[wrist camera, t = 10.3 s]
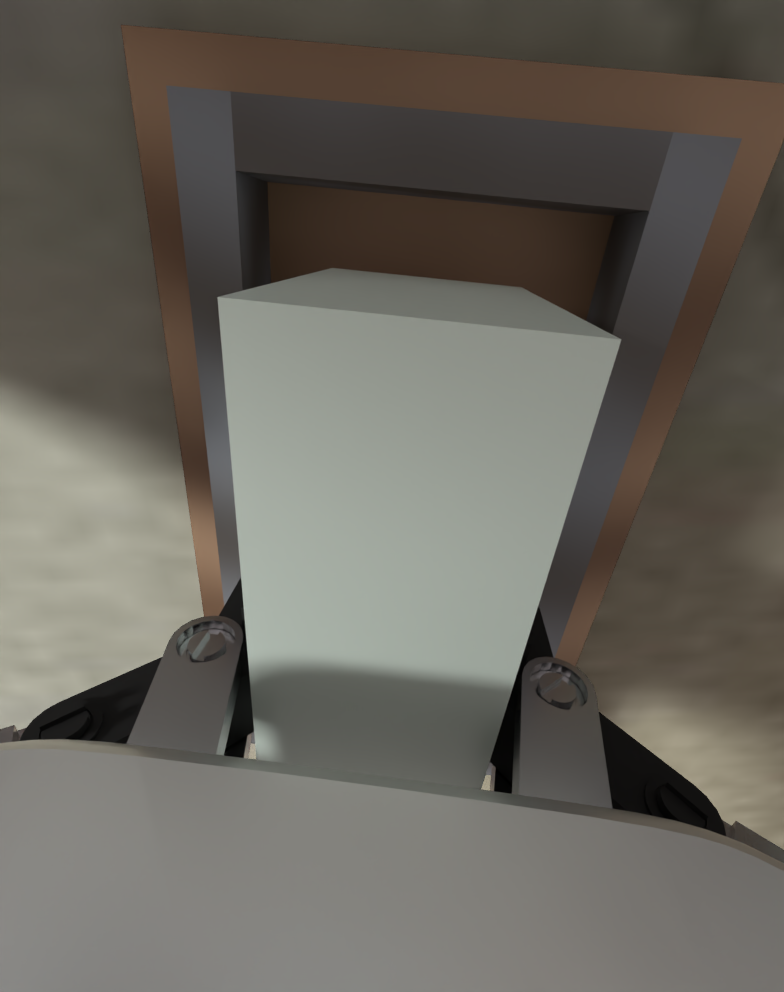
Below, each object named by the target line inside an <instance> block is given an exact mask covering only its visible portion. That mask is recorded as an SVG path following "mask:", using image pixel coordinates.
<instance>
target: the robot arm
mask: <svg viewBox="0 0 784 992" xmlns="http://www.w3.org/2000/svg"><path fill="white" fill-rule="evenodd" d="M252 732H254V724H253V712H252V700H251V688H250V676H249V664H248V653H247V641H246V629H245V617H244V605H243V594H242V582H241V578H240V580H239V581H238V583H237V585H236V586H235V588H234V590H233V592H232V593H231V595H230V597H229V599H228V600H227V602H226V604H225V606H224V607H223V609H222V611H221V613H220V614H219V616H215V615H214V616H205V617H200V618H197V619H194V620H191V621H190V622H188V623H186V624H184V625H182V626H181V627H180V628H179V629H178V630H177V631H176V632H174V634H173V635H172V637H171V638H170V640H169V642H168V644H167V647H166V649H165V652H164V654H163V657H161V658H159V659H157V660H154V661H152V662H150V663H148V664H145V665H143V666H141V667H138V668H136V669H134V670H132V671H129V672H127V673H125V674H122V675H120V676H118V677H116V678H113V679H111V680H109V681H107V682H104V683H102V684H100V685H97V686H95V687H93V688H91V689H88V690H86V691H84V692H81V693H79V694H77V695H75V696H72V697H70V698H68V699H66V700H63V701H61V702H59V703H57V704H55V705H53V706H52V707H50V708H48V709H46V710H45V711H44V712H42V713H41V714H40V715H39V716H37V717H36V718H35V719H34V720H33V721H32V722H31V723H30V724H29V725H28V727H27V728H25V729H21V730H18V731H17V729H16V727H15V725H13V726H10V727H7V728H3V729H0V992H784V850H783V849H781V848H780V847H778V846H777V845H775V844H773V843H772V842H770V841H768V840H767V839H765V838H763V837H762V836H760V835H758V834H757V833H755V832H753V831H752V830H750V829H748V828H747V827H745V826H744V825H742V824H740V823H739V822H737V821H735V822H734V824H733V825H732V826H731V825H729V824H728V823H726V822H724V821H723V820H722V819H721V817H720V815H719V813H718V811H717V809H716V808H715V807H714V806H713V804H712V803H711V802H710V800H709V799H708V798H707V796H705V795H704V794H703V793H702V792H701V791H700V790H699V789H698V788H697V787H696V786H694V785H693V784H692V783H691V782H689V781H688V780H687V779H685V778H684V777H683V776H682V775H680V774H679V773H678V772H676V771H675V770H674V769H672V768H671V767H670V766H669V765H667V764H666V763H665V762H663V761H662V760H661V759H659V758H658V757H657V756H656V755H654V754H653V753H652V752H650V751H649V750H648V749H646V748H645V747H644V746H643V745H641V744H640V743H639V742H637V741H636V740H635V739H633V738H632V737H631V736H630V735H628V734H627V733H626V732H624V731H623V730H622V729H620V728H619V727H618V726H617V725H615V724H614V723H613V722H611V721H610V720H609V719H607V718H606V717H605V716H604V715H602V714H601V713H600V712H599V711H598V704H597V697H596V693H595V690H594V687H593V685H592V683H591V682H590V680H589V679H588V677H587V676H586V675H585V674H584V673H583V672H582V671H580V670H579V669H578V668H577V667H575V666H573V665H572V664H570V663H569V662H566V661H564V660H561V659H558V658H554V657H553V653H552V650H551V646H550V643H549V639H548V636H547V632H546V629H545V625H544V622H543V618H542V615H541V611H540V608H539V605H538V608H537V611H536V615H535V618H534V621H533V624H532V628H531V631H530V634H529V637H528V640H527V644H526V647H525V650H524V653H523V656H522V660H521V663H520V666H519V669H518V672H517V676H516V679H515V682H514V685H513V688H512V692H511V695H510V698H509V701H508V704H507V708H506V711H505V714H504V717H503V720H502V724H501V727H500V730H499V733H498V736H497V740H496V743H495V746H494V749H493V752H492V756H491V759H490V762H491V763H492V764H493V766H492V771H491V783H490V791H488V790H481V789H473V788H466V787H459V786H452V785H444V784H437V783H430V782H422V781H415V780H407V779H400V778H392V777H385V776H377V775H370V774H362V773H355V772H347V771H340V770H332V769H324V768H317V767H309V766H302V765H294V764H286V763H278V762H271V761H263V760H255V759H248V756H249V750H250V745H251V739H252Z"/></svg>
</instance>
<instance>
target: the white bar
mask: <svg viewBox="0 0 784 992" xmlns="http://www.w3.org/2000/svg"><path fill="white" fill-rule="evenodd" d="M217 298H218V310H219V322H220V333H221V345H222V357H223V369H224V381H225V393H226V404H227V416H228V428H229V440H230V452H231V463H232V475H233V487H234V499H235V511H236V523H237V534H238V546H239V558H240V570H241V582H242V594H243V605H244V617H245V629H246V641H247V653H248V664H249V676H250V688H251V700H252V712H253V724H254V735H255V747H256V759H257V760H263V761H271V762H278V763H286V764H294V765H302V766H309V767H317V768H324V769H332V770H340V771H347V772H355V773H362V774H370V775H377V776H385V777H392V778H400V779H407V780H415V781H422V782H430V783H437V784H444V785H452V786H459V787H466V788H473V789H481V788H482V784H483V781H484V778H485V775H486V772H487V768H488V765H489V762H490V759H491V756H492V752H493V749H494V746H495V743H496V740H497V736H498V733H499V730H500V727H501V724H502V720H503V717H504V714H505V711H506V708H507V704H508V701H509V698H510V695H511V692H512V688H513V685H514V682H515V679H516V676H517V672H518V669H519V666H520V663H521V660H522V656H523V653H524V650H525V647H526V644H527V640H528V637H529V634H530V631H531V628H532V624H533V621H534V618H535V615H536V611H537V608H538V605H539V602H540V599H541V595H542V592H543V589H544V586H545V583H546V579H547V576H548V573H549V570H550V567H551V563H552V560H553V557H554V554H555V551H556V547H557V544H558V541H559V538H560V535H561V531H562V528H563V525H564V522H565V519H566V515H567V512H568V509H569V506H570V503H571V499H572V496H573V493H574V490H575V487H576V483H577V480H578V477H579V474H580V471H581V467H582V464H583V461H584V458H585V455H586V451H587V448H588V445H589V442H590V439H591V435H592V432H593V429H594V426H595V423H596V419H597V416H598V413H599V410H600V407H601V403H602V400H603V397H604V394H605V391H606V387H607V384H608V381H609V378H610V375H611V371H612V368H613V365H614V362H615V359H616V355H617V352H618V349H619V346H620V342H621V339H620V338H618V337H616V336H614V335H612V334H610V333H608V332H606V331H604V330H602V329H600V328H598V327H597V326H595V325H593V324H591V323H589V322H587V321H585V320H583V319H581V318H579V317H577V316H575V315H574V314H572V313H570V312H568V311H566V310H564V309H562V308H560V307H558V306H556V305H554V304H552V303H551V302H549V301H547V300H545V299H543V298H541V297H539V296H537V295H535V294H533V293H531V292H529V291H528V290H526V289H524V288H522V287H514V286H504V285H494V284H485V283H475V282H465V281H455V280H446V279H436V278H426V277H416V276H407V275H397V274H387V273H377V272H368V271H358V270H348V269H338V268H330V269H326V270H322V271H318V272H314V273H310V274H306V275H302V276H298V277H294V278H290V279H287V280H283V281H279V282H275V283H271V284H267V285H263V286H259V287H255V288H251V289H247V290H243V291H239V292H235V293H231V294H227V295H223V296H219V297H217Z"/></svg>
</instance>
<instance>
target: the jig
mask: <svg viewBox="0 0 784 992" xmlns="http://www.w3.org/2000/svg"><path fill="white" fill-rule="evenodd" d="M121 29H122V36H123V43H124V51H125V58H126V65H127V72H128V79H129V86H130V93H131V100H132V107H133V115H134V122H135V129H136V136H137V143H138V150H139V157H140V164H141V171H142V178H143V186H144V193H145V200H146V207H147V214H148V221H149V228H150V235H151V242H152V249H153V257H154V264H155V271H156V278H157V285H158V292H159V299H160V306H161V313H162V321H163V328H164V335H165V342H166V349H167V356H168V363H169V370H170V377H171V384H172V392H173V399H174V406H175V413H176V420H177V427H178V434H179V441H180V448H181V456H182V463H183V470H184V477H185V484H186V491H187V498H188V505H189V512H190V519H191V527H192V534H193V541H194V548H195V555H196V562H197V569H198V576H199V583H200V591H201V598H202V605H203V612H204V617H205V616H214V615H215V616H219V614H220V613H221V611H222V609H223V607H224V606H225V604H226V602H227V600H228V599H229V597H230V595H231V593H232V592H233V590H234V588H235V586H236V585H237V583H238V581H239V580H240V578H241V570H240V558H239V546H238V534H237V523H236V511H235V499H234V487H233V475H232V463H231V452H230V440H229V428H228V416H227V404H226V393H225V381H224V369H223V357H222V345H221V333H220V322H219V310H218V298H217V297H219V296H223V295H227V294H231V293H235V292H239V291H243V290H247V289H251V288H255V287H259V286H263V285H267V284H271V283H275V282H279V281H283V280H287V279H290V278H294V277H298V276H302V275H306V274H310V273H314V272H318V271H322V270H326V269H330V268H338V269H348V270H358V271H368V272H377V273H387V274H397V275H407V276H416V277H426V278H436V279H446V280H455V281H465V282H475V283H485V284H494V285H504V286H514V287H522V288H524V289H526V290H528V291H529V292H531V293H533V294H535V295H537V296H539V297H541V298H543V299H545V300H547V301H549V302H551V303H552V304H554V305H556V306H558V307H560V308H562V309H564V310H566V311H568V312H570V313H572V314H574V315H575V316H577V317H579V318H581V319H583V320H585V321H587V322H589V323H591V324H593V325H595V326H597V327H598V328H600V329H602V330H604V331H606V332H608V333H610V334H612V335H614V336H616V337H618V338H620V339H621V342H620V346H619V349H618V352H617V355H616V359H615V362H614V365H613V368H612V371H611V375H610V378H609V381H608V384H607V387H606V391H605V394H604V397H603V400H602V403H601V407H600V410H599V413H598V416H597V419H596V423H595V426H594V429H593V432H592V435H591V439H590V442H589V445H588V448H587V451H586V455H585V458H584V461H583V464H582V467H581V471H580V474H579V477H578V480H577V483H576V487H575V490H574V493H573V496H572V499H571V503H570V506H569V509H568V512H567V515H566V519H565V522H564V525H563V528H562V531H561V535H560V538H559V541H558V544H557V547H556V551H555V554H554V557H553V560H552V563H551V567H550V570H549V573H548V576H547V579H546V583H545V586H544V589H543V592H542V595H541V599H540V602H539V608H540V611H541V615H542V618H543V622H544V625H545V629H546V632H547V636H548V639H549V643H550V646H551V650H552V653H553V657H554V658H558V659H561V660H564V661H566V662H569V663H570V664H572V665H573V666H576V664H577V661H578V659H579V656H580V654H581V651H582V649H583V646H584V644H585V641H586V639H587V636H588V633H589V631H590V628H591V626H592V623H593V621H594V618H595V616H596V613H597V611H598V608H599V606H600V603H601V601H602V598H603V596H604V593H605V591H606V588H607V585H608V583H609V580H610V578H611V575H612V573H613V570H614V568H615V565H616V563H617V560H618V558H619V555H620V553H621V550H622V548H623V545H624V543H625V540H626V537H627V535H628V532H629V530H630V527H631V525H632V522H633V520H634V517H635V515H636V512H637V510H638V507H639V505H640V502H641V500H642V497H643V495H644V492H645V489H646V487H647V484H648V482H649V479H650V477H651V474H652V472H653V469H654V467H655V464H656V462H657V459H658V457H659V454H660V452H661V449H662V447H663V444H664V441H665V439H666V436H667V434H668V431H669V429H670V426H671V424H672V421H673V419H674V416H675V414H676V411H677V409H678V406H679V404H680V401H681V399H682V396H683V393H684V391H685V388H686V386H687V383H688V381H689V378H690V376H691V373H692V371H693V368H694V366H695V363H696V361H697V358H698V356H699V353H700V351H701V348H702V345H703V343H704V340H705V338H706V335H707V333H708V330H709V328H710V325H711V323H712V320H713V318H714V315H715V313H716V310H717V308H718V305H719V303H720V300H721V297H722V295H723V292H724V290H725V287H726V285H727V282H728V280H729V277H730V275H731V272H732V270H733V267H734V265H735V262H736V260H737V257H738V255H739V252H740V249H741V247H742V244H743V242H744V239H745V237H746V234H747V232H748V229H749V227H750V224H751V222H752V219H753V217H754V214H755V212H756V209H757V207H758V204H759V201H760V199H761V196H762V194H763V191H764V189H765V186H766V184H767V181H768V179H769V176H770V174H771V171H772V169H773V166H774V164H775V161H776V159H777V156H778V153H779V151H780V148H781V146H782V143H783V141H784V83H773V82H762V81H750V80H739V79H728V78H716V77H705V76H694V75H683V74H671V73H660V72H649V71H637V70H626V69H615V68H603V67H592V66H581V65H569V64H558V63H547V62H536V61H524V60H513V59H502V58H490V57H479V56H468V55H456V54H445V53H434V52H423V51H411V50H400V49H389V48H377V47H366V46H355V45H343V44H332V43H321V42H310V41H298V40H287V39H276V38H264V37H253V36H242V35H230V34H219V33H208V32H196V31H185V30H174V29H163V28H151V27H140V26H129V25H121ZM251 743H254V744H255V735H254V732H252V739H251ZM492 766H493V764H492V763H491V762H489V765H488V768H487V772H486V775H491V771H492Z"/></svg>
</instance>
